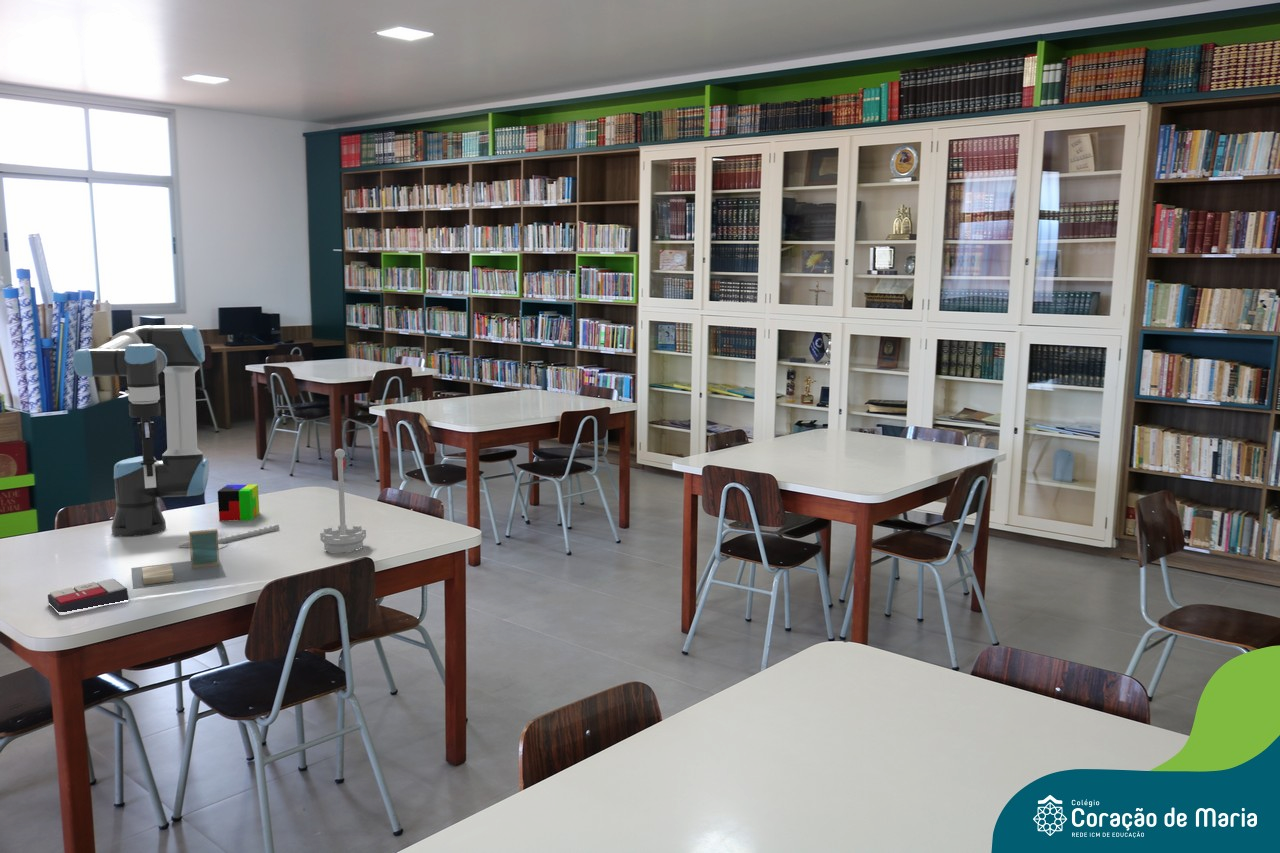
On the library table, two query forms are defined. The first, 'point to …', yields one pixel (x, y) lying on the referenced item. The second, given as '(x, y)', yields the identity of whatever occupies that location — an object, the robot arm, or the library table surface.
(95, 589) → the black red flat box
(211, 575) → the mat
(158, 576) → the tile
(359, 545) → the flag stand
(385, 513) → the library table surface
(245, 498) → the puzzle toy
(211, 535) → the tile
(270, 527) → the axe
